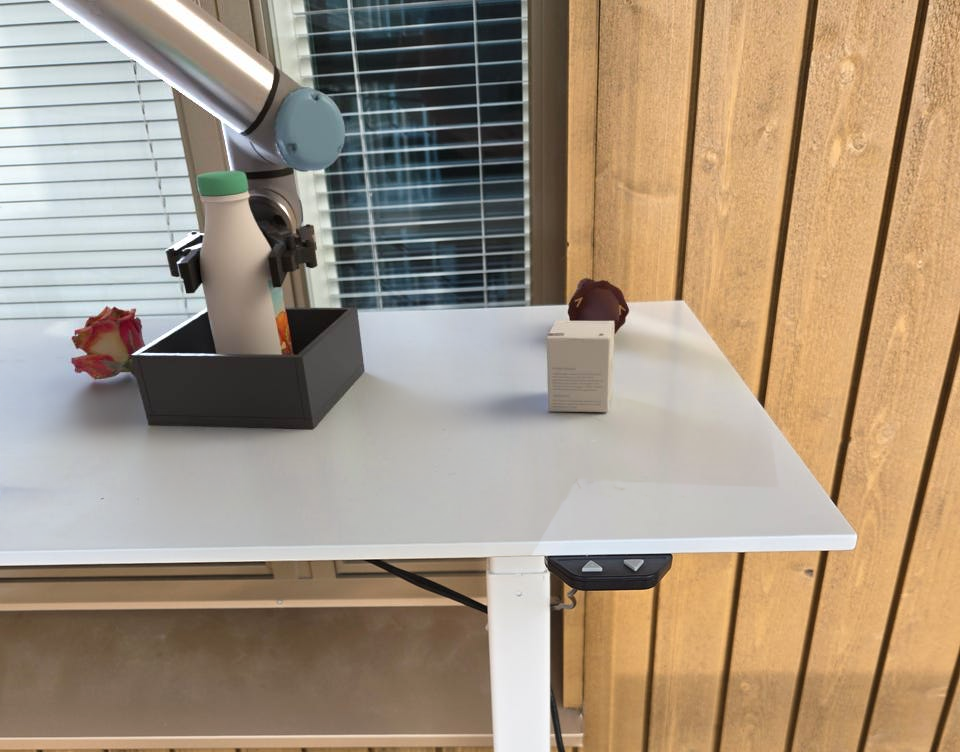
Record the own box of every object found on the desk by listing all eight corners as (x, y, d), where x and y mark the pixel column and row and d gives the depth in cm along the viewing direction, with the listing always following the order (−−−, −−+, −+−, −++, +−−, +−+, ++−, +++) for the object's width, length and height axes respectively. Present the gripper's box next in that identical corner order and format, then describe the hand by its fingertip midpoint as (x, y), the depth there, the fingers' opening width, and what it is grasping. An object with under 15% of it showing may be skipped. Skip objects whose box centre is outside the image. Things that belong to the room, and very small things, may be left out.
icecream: (655, 294, 98) (614, 277, 111) (592, 282, 96) (558, 266, 109) (638, 358, 101) (600, 334, 114) (577, 347, 99) (545, 325, 112)
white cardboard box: (613, 393, 91) (616, 319, 87) (608, 414, 86) (611, 337, 82) (554, 391, 92) (554, 318, 88) (546, 412, 87) (545, 336, 83)
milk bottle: (274, 398, 90) (234, 179, 79) (209, 393, 92) (161, 179, 81) (310, 374, 96) (277, 167, 85) (248, 370, 98) (208, 167, 87)
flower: (184, 352, 103) (139, 293, 102) (143, 360, 95) (93, 295, 93) (129, 400, 107) (85, 343, 105) (85, 411, 99) (36, 350, 97)
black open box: (148, 424, 89) (129, 355, 85) (220, 369, 103) (207, 307, 99) (313, 429, 86) (302, 357, 82) (364, 371, 100) (357, 307, 96)
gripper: (352, 259, 105) (344, 309, 86) (179, 271, 104) (132, 323, 85) (344, 188, 100) (333, 224, 82) (163, 200, 99) (109, 239, 81)
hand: (230, 275), depth 83 cm, fingers closed on milk bottle, 7 cm apart
